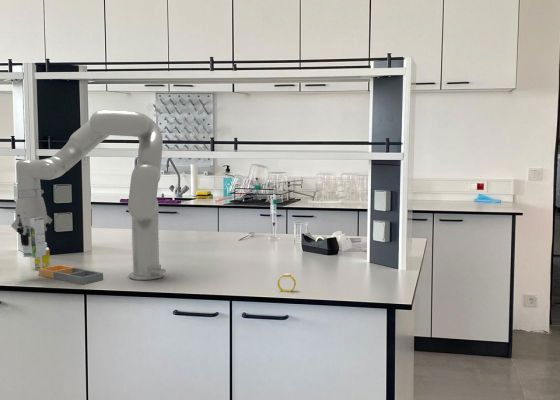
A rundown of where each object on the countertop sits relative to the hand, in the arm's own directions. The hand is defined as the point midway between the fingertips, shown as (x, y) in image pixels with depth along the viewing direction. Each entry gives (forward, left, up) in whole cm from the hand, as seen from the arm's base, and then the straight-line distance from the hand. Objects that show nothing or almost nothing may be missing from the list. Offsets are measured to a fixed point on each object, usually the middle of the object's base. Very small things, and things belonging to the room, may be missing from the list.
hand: (34, 243), depth 223 cm
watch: (-84, -38, -14) cm, 94 cm away
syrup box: (0, 0, -5) cm, 5 cm away
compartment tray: (-7, -9, -13) cm, 18 cm away
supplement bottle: (+15, -12, -14) cm, 24 cm away
